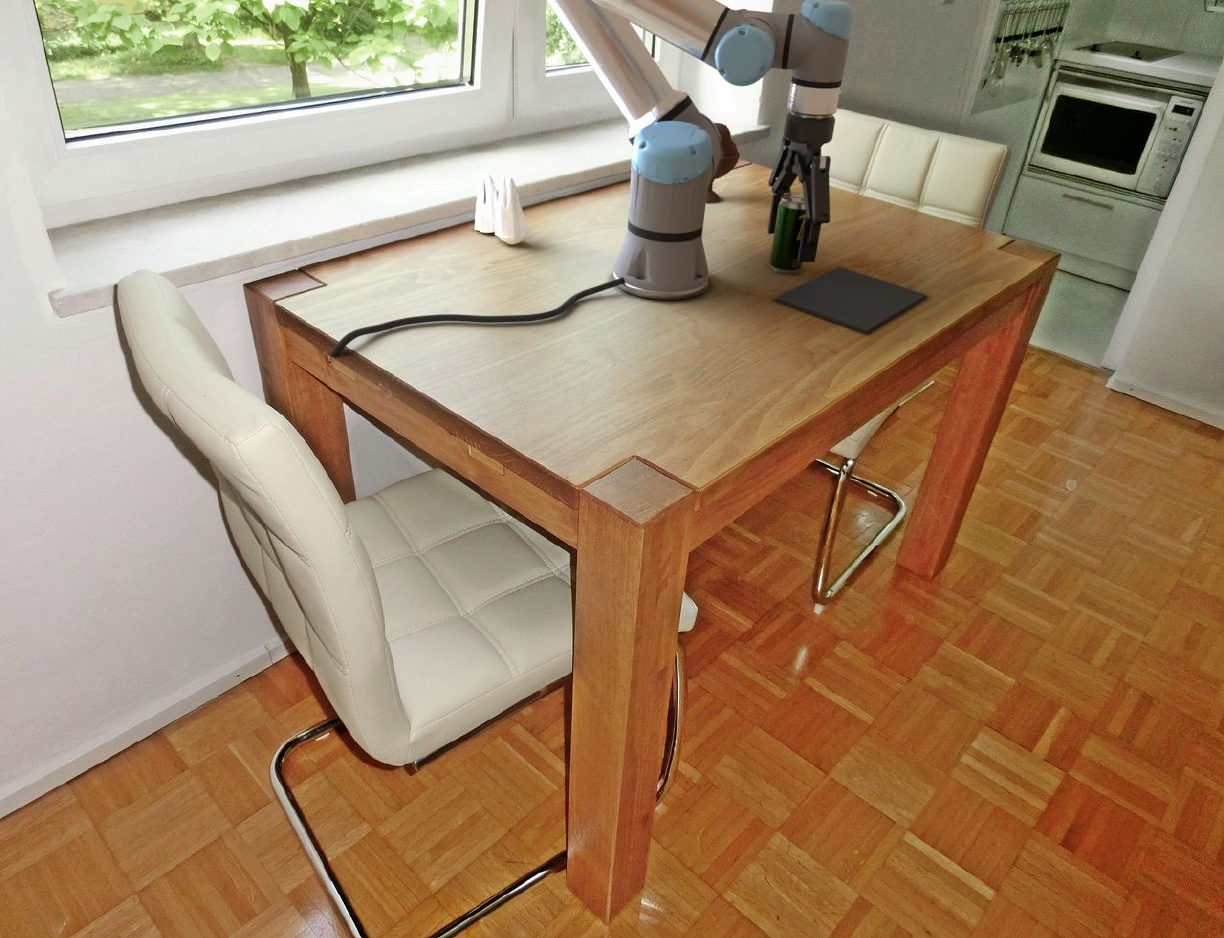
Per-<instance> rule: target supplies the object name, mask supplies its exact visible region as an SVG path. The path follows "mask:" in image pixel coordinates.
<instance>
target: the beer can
mask: <svg viewBox="0 0 1224 938" xmlns="http://www.w3.org/2000/svg"><path fill="white" fill-rule="evenodd" d="M781 198H782V199H781V200H780V202H779V207H778V213H777V219H776V226H775V232H774V234H773V237H772V238H773V239H772V245H771V251H770V257H769V265H770V268H771V270H772V271H773V272H776V273H780V274H785V275H786V274H787V275H792V274H796V273H798V272H799V271H800V270H801V268H802V266H803V263H799V262H798V261H797V259H798V253H799V247H800V241H801V235H802V229H803V221H804V220H805V219H806V218H807V217H806V209H805V201H804V194H802V193H792V192H791V193H784V195H782V197H781Z"/></svg>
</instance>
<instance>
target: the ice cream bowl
mask: <svg viewBox="0 0 1224 938" xmlns="http://www.w3.org/2000/svg"><path fill="white" fill-rule="evenodd" d="M713 123H714V124H715V126H716V127H717V129H718V131H719V134H720V137H721V141H722V159H721V163H720V166H719V169H718V171H717V173H716V174H715V176H714V177H713V179H712V181H711V183H710V185H709V187H708V190H707V195H706V204H715V203H718V202H720V201H721V197H720V195H719V194H717V193H716V192H715V190H713V187H714V186H713V185H714V182H715V180H717V179H720V178H722V177H725V175H727V174H729V173H730V172H732V170H734V169H735V168H736V166H737V164H738V163H739V159H740V156H741V153H740V152H739V150H738V147H737V144H736V143H735V142H734V141H733V140H732V135H731V131H730V128H729V127H728V126H727V125H726V124H724V123H720V122H713Z"/></svg>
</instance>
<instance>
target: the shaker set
mask: <svg viewBox="0 0 1224 938" xmlns="http://www.w3.org/2000/svg"><path fill="white" fill-rule="evenodd" d="M500 178H501V179H500V184H499V190H498V191H497V187H496V184H495V182H494V180H493V178H492V176H491V175H490V174H488V175H487V176H486V178H485V173H480V175H479V179H478V187H477V196H476V206H475V217H474V219H475V220H474V231H480V233H484V234H487V233H489V234H490V233H494V235H495V236H496V237H498V238H500V239H501V240H502V241H503V242H504V243H506V244H507V245H515V244H518V243H520V242H523V241H524V240H525V239H526V238H529V236H530V231H529V227H528V223H527V220H526V219H527V218H526V217H525V213H524V209H523V206H522V202H521V200H520V196H519V193H518V189H517V186H516V184H515V183H516V182H515V181H514V179H513V177H508V179H507V177H506V175H503V176H502V177H500Z"/></svg>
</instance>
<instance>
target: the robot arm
mask: <svg viewBox="0 0 1224 938" xmlns="http://www.w3.org/2000/svg"><path fill="white" fill-rule="evenodd" d="M546 1H547V3H548V4H549V6H550V8H551V9H552V11H553V12H554V14H555V15H556V16H557V18H558V19H559V21H560V22H561V24H562V25H563V27H564V28H565V30H566V31H567V33H568V34H569V36H570V38H571V39H572V40H573V42H574V44H575V45H576V46H577V48H578V49H579V51H580V53H581V54H582V55H583V57H584V58H585V60H586V61H587V63H588V64H589V66H590V67H591V69H592V70H593V72H594V73H595V75H596V77H598V80H600V82H601V83H602V85H603V86H604V88H605V90H606V91H607V92H608V94H609V95H610V97H611V98H612V100H613V102H614V103H615V104H616V106H617V107H618V109H619V110H620V112H621V114H622V115H623V116H624V118H625V119H626V121H627V123H628V133H627V140H628V141H629V142H630V144H631V145H632V148H631V151H630V158H631V170H630V185H629V187H630V188H629V201H628V203H629V204H628V217H627V218H628V219H627V230H626V235H625V237H624V240H623V242H622V245H621V247H620V250H619V252H618V254H617V257H616V260H615V261H614V266H613V273H612V280H610V281H606V282H604V283H601V284H599V285H595V286H592V287H590V288H586V289H584V290H582V291H579V292H577V293H575V294H573V295H572V296H570V297H569V298H567V300H565V301H564V302H563V304H561V305H560V306H558V307H557V308H554V309H551V310H547V311H543V312H539V313H538V312H537V313H530V314H518V315H517V314H514V315H511V314H510V315H509V314H507V315H476V314H475V315H474V314H460V313H459V314H457V313H455V314H454V313H443V314H442V313H441V314H426V315H417V316H409V317H403V318H399V319H398V318H397V319H395V320H391V321H387V322H383V323H379V324H375V325H369V326H363V327H361V328H357V329H354V330H352V331H350V332H349V333H347V334H346V335H344V336H343V337H342V338H341V339H340V340H339V341H338V342H337V344H336V345H335V346H334V348H333V349H332V351H331V352H330V355H329V357H330V358H337V357H339V356H340V355H341V353H342V352H343V351H344V350H345V348H346V347H347V346H348V345H349V344H350V343H351V342H352V341H354V340H355V339H358V338H359V337H362V336H365V335H370V334H375V333H380V332H384V331H388V330H391V329H396V328H399V327H405V326H408V325H414V324H425V323H437V322H466V323H481V324H483V323H485V324H494V323H495V324H498V323H500V324H501V323H527V322H536V321H542V320H548V319H551V318H554V317H557V316H559V315H561V314H563V313H565V312H567V310H568V309H570V308H571V307H572V306H573V305H574V304H575V303H576V302H578V301H580V300H581V299H584V298H585V297H588V296H592V295H594V294H597V293H601V292H604V291H606V290H609V289H612V288H615V287H618V288H619V289H621V290H622V291H624V292H626V293H628V294H631V295H633V296H636V297H640V298H645V299H650V300H658V301H659V300H661V301H677V300H685V299H690V298H694V297H696V296H699V295H702V293H704V292H705V291H706V290H707V289H708V285H709V275H710V274H709V268H708V264H707V258H706V253H705V248H704V247H705V246H704V243H703V236H702V235H703V228H704V220H705V211H706V204H707V203H706V195H707V190H708V187H709V185H710V183H711V181H712V179H713V177H714V176H715V174H716V173H717V171H718V169H719V166H720V163H721V159H722V141H721V137H720V134H719V131H718V129H717V127H716V126H715V124H714V123H715V122H714V121H712V119H711V118H709V117H708V116H707V115H706V114H704V113H703V112H700V111H699V109H698V108H697V105H695V103H694V101H693V100H692V98H691V97H690V95H689V93H688V92H687V91H681V90H676V89H674V88H673V87H672V86H671V84H670V82H669V81H668V79H667V77H666V76H665V74H664V72H663V71H662V70H661V68H660V67H659V65H658V64H657V62H656V60H655V59H654V57H653V55H652V54H651V53H650V51H649V50H648V47H646V45H645V44H644V42H643V40H642V38H641V37H640V35H639V34H638V32H637V31H636V29H635V28H634V26H633V25H635V26H637V27H639V28H640V29H642V30H644V31H646V32H648V33H649V34H652V35H653V36H655V37H657V38H659V39H660V40H662V41H664V42H666V43H668V44H670V45H672V46H674V47H676V48H677V49H678V50H681V51H683V52H685V53H686V54H688V55H690V56H692V57H694V58H695V59H698V60H699V61H701V62H703V63H704V64H706V65H707V66H710V67H711V68H713V69H715V70H717V72H718V74H719V75H720V76H721V77H722V79H723V80H724V81H726V83H728V84H730V85H733V86H735V87H736V86H737V87H748V86H751V85H754V84H756V83H758V81H760V80H761V79H763V78H764V77H765V75H766V74H767V73H768V72H770V70H771V69H777V70H778V69H779V70H791V71H792V76H791V81H790V84H789V91H788V99H787V107H786V108H787V110H788V111H789V112H788V113H787V114H786V115H785V122H784V128H783V136H782V139H781V145H780V149H779V151H778V154H777V157H776V159H775V161H774V165H773V168H772V170H771V173H770V176H769V179H768V182H767V185H768V187H769V188H771V194H772V198H771V205H770V210H769V219H768V226H767V233H768V235H774V232H775V226H776V219H777V213H778V207H779V202H780V200H781V199H782V198H781V197H782V195H784V194H789V193H792V191H791V187H792V185H793V184H794V182H795V181H796V179H797V178H798V182H799V183H800V184H801V185H802V193H803V194H802V195H804V201H805V209H806V217H807V218H806V219H805V220H804V221H803V229H802V235H801V241H800V247H799V253H798V259H797V261H798V262H799V263H802V264H803V263H815V262H816V256H817V251H818V245H819V239H820V235H821V234H820V233H821V228H822V225H823V224H830V222H831V193H830V189H831V187H830V186H831V185H830V169H831V161H832V158H831V156H830V155H822V148H823V146H824V145H825V144H829V143H831V141H832V140H833V135H834V129H835V125H836V118H835V116H834V114H836V113H837V112H838V111H837V110H838V105H839V100H840V97H841V96H842V90H841V87H842V84H843V83H842V82H843V78H844V71H845V67H846V61H847V57H848V51H849V46H850V39H851V32H852V24H853V18H854V17H853V16H854V10H853V8H852V6H851V5H850V4H849V2H845V1H841V0H804V2H803V3H802V6H801V9H800V10H799V13H795V12H794V13H782V12H771V11H770V12H769V11H759V10H748V9H746V8H741V9H732V8H730V7H728V5H725V4H723V3H722V2H720V1H718V0H546Z"/></svg>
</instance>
